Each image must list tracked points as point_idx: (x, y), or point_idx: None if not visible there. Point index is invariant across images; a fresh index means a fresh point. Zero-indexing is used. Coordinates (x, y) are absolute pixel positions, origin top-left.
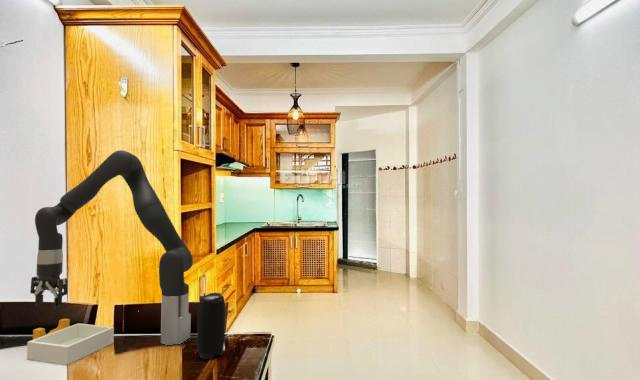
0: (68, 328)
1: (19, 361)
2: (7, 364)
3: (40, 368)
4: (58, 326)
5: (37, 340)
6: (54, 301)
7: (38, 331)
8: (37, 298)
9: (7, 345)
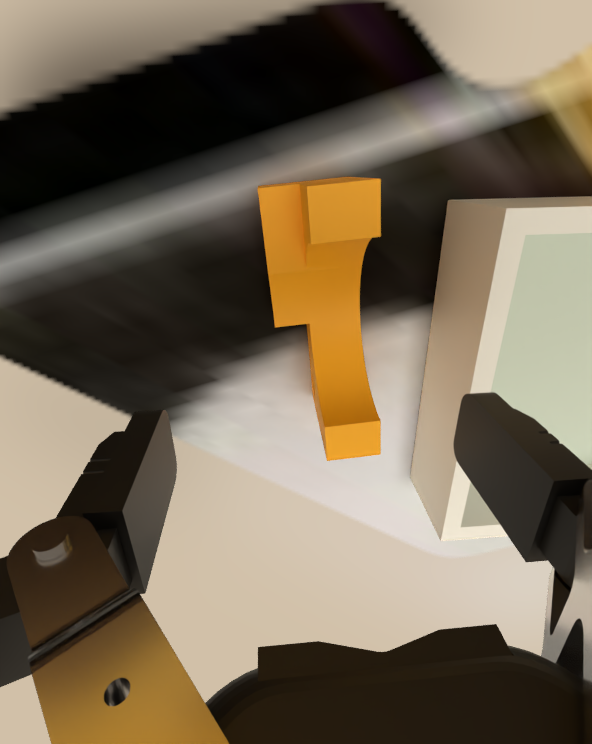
0: (503, 320)
1: (397, 496)
2: (375, 523)
3: None
4: (315, 249)
5: (461, 504)
6: (500, 515)
7: (369, 450)
8: (151, 552)
9: (132, 409)
